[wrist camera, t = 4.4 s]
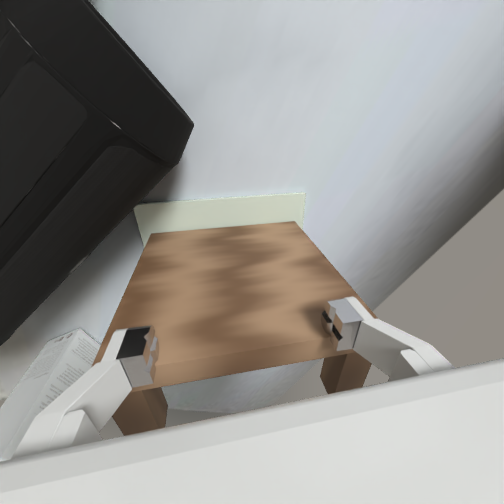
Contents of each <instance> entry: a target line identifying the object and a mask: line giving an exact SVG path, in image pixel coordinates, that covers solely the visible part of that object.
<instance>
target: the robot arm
mask: <svg viewBox="0 0 504 504" xmlns="http://www.w3.org/2000/svg"><path fill="white" fill-rule="evenodd" d="M323 308H324V311H323V313H322V314H321V324H322V327H323V329H324V331H325V333H327V334H329V335H330V341H331V343H332V345H333V346H334V348H335V350H336V351H341V350H348V349H353V350H354V351H356V352H357V353H358V354H360V355H361V356H362V357H364V358H365V359H366V360H368V361H369V362H370V363H372V364H373V365H375V366H376V367H377V368H378V369H380V370H381V371H383V372H384V373H385V374H387V375H388V376H389V377H390V378H389V380H388V382H385V383H380V384H376V385H371V386H366V387H361V388H356V389H351V390H346V391H341V392H336V393H332V394H327V395H322V396H317V397H313V398H308V399H302V400H298V401H293V402H288V403H283V404H278V405H274V406H268V407H264V408H259V409H254V410H249V411H244V412H239V413H234V414H229V415H225V416H220V417H215V418H210V419H206V420H200V421H195V422H191V423H186V424H181V425H176V426H171V427H166V428H161V429H156V430H151V431H146V432H142V433H137V434H132V435H127V436H122V437H117V438H112V439H107V440H103V439H102V437H101V436H100V434H99V432H100V431H101V430H102V428H103V427H104V426H105V424H106V423H107V422H108V420H109V419H110V418H111V417H112V415H113V414H114V413H115V411H116V410H117V409H118V407H119V406H120V405H121V403H122V402H123V401H124V399H125V398H126V397H127V395H128V394H129V393H130V391H131V390H132V388H134V387H139V386H143V385H148V384H153V383H154V378H155V373H156V367H155V363H156V362H157V360H158V357H159V342H158V338H156V337H155V336H154V335H155V329H154V326H152V325H150V326H141V327H133V328H127V329H118V330H116V331H115V332H114V333H113V335H112V337H111V340H110V342H109V344H108V346H107V349H106V351H105V353H104V356H103V358H102V360H101V362H99V363H96V364H95V365H94V366H93V367H92V368H90V369H89V370H88V371H87V372H86V373H85V374H84V375H82V376H81V377H80V378H79V379H78V380H77V381H76V382H74V383H73V384H72V385H71V386H70V387H69V388H68V389H66V390H65V391H64V392H63V393H62V394H61V395H60V396H58V397H57V398H56V399H55V400H54V401H53V402H52V403H51V404H49V405H48V406H47V407H46V408H45V409H44V410H43V411H41V412H40V413H39V414H38V415H37V416H36V417H35V418H34V420H33V422H32V423H31V425H30V427H29V429H28V430H27V432H26V434H25V435H24V437H23V439H22V441H21V442H20V444H19V446H18V447H17V449H16V451H15V453H14V454H13V456H12V458H11V459H10V460H5V461H0V504H504V358H502V359H497V360H492V361H487V362H483V363H478V364H473V365H468V366H463V367H458V368H455V367H454V366H453V365H452V364H451V363H450V362H448V361H447V360H446V358H444V357H443V356H442V355H441V354H440V353H439V352H438V351H437V350H436V349H435V348H434V347H433V346H432V345H431V344H429V343H427V342H425V341H422V340H421V339H419V338H416V337H415V336H412V335H410V334H408V333H406V332H404V331H402V330H400V329H398V328H396V327H394V326H392V325H390V324H388V323H385V322H383V321H381V320H379V319H374V318H373V317H372V316H371V315H370V313H369V312H368V311H367V310H366V309H365V308H364V307H363V306H362V304H361V303H360V302H359V301H358V300H357V299H356V298H355V297H346V298H340V299H333V300H327V301H324V303H323Z"/></svg>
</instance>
